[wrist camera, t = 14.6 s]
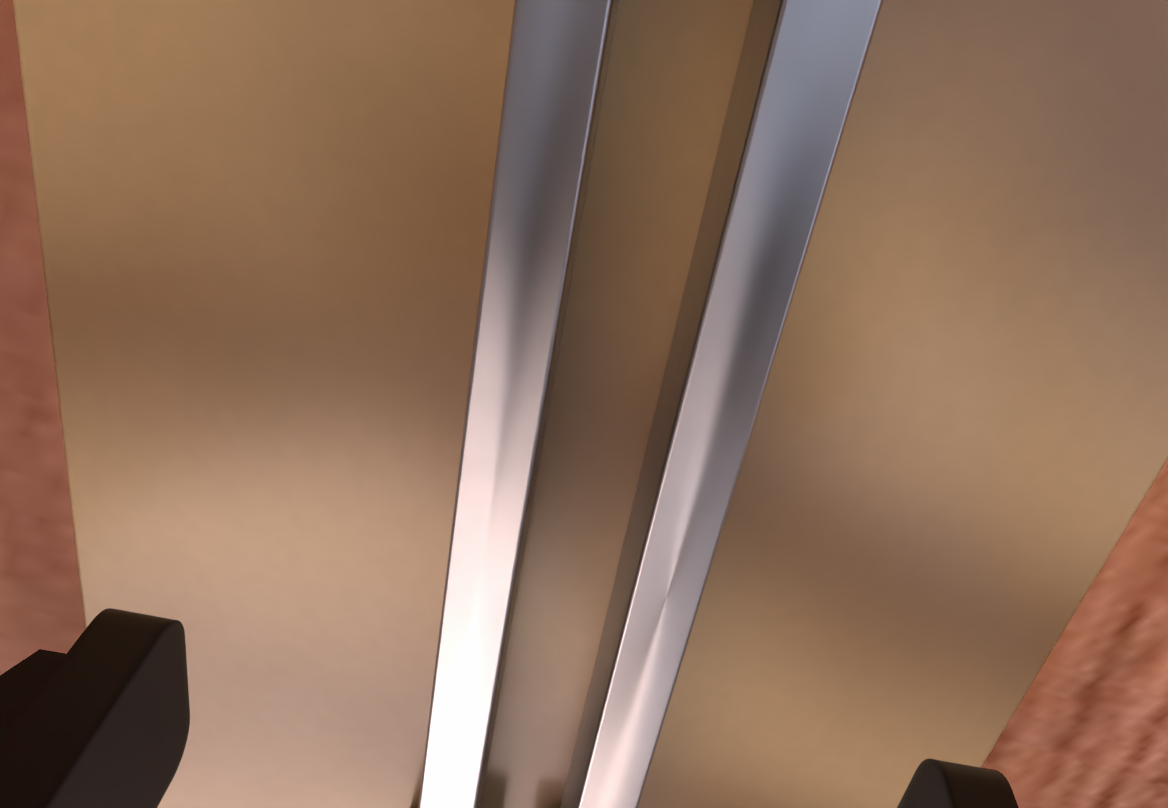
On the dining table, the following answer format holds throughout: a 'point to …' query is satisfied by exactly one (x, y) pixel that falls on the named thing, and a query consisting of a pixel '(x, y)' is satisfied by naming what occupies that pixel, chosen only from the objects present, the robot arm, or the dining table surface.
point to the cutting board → (594, 379)
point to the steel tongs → (690, 384)
